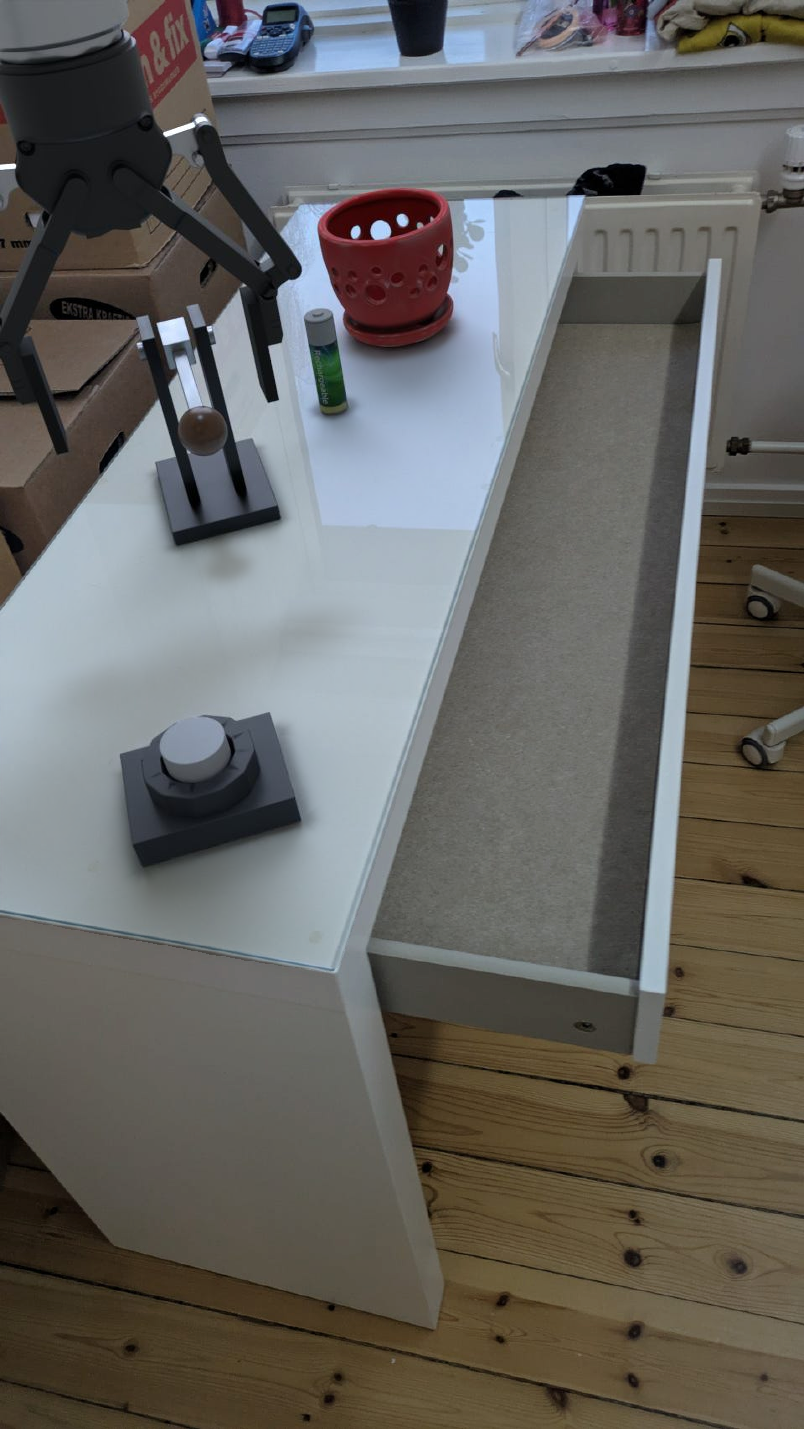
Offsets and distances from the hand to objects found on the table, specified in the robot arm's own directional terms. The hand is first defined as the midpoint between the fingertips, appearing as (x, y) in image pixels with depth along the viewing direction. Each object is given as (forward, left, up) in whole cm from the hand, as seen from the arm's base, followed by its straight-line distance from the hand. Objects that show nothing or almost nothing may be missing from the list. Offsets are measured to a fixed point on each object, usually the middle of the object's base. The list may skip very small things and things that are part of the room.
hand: (166, 418), depth 70 cm
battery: (+15, +28, -18) cm, 36 cm away
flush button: (-4, -17, -14) cm, 22 cm away
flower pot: (+25, +41, -18) cm, 51 cm away
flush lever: (+2, +13, -6) cm, 15 cm away
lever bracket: (+2, +18, -17) cm, 25 cm away
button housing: (-4, -17, -17) cm, 24 cm away
